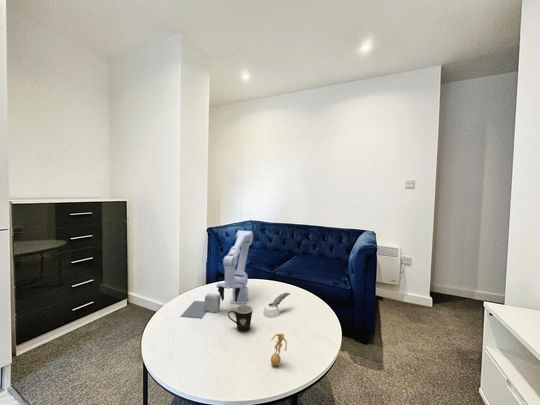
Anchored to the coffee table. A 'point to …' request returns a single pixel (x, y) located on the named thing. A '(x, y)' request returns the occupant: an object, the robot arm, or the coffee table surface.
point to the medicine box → (212, 302)
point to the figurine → (275, 357)
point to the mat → (195, 310)
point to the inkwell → (274, 306)
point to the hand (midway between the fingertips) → (229, 300)
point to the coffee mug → (242, 317)
